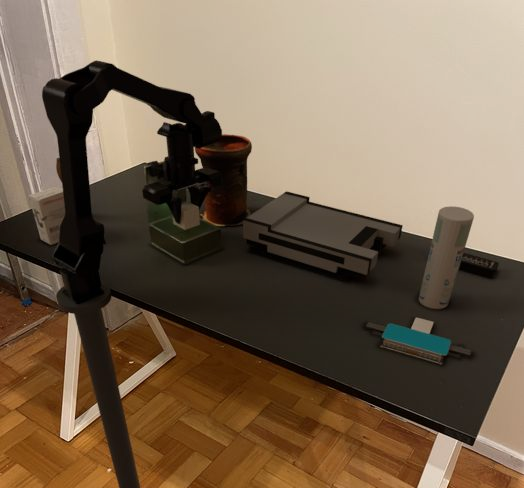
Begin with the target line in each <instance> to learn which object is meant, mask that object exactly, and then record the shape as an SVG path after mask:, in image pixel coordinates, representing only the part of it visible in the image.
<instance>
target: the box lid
mask: <svg viewBox="0 0 524 488" xmlns="http://www.w3.org/2000/svg"><path fill="white" fill-rule="evenodd" d="M158 163H159V164H162V163H164V160H163V161H159V162H158ZM143 172H144V173H143V175H144V186H145V185H148V184H152V183H155V182H159V183H161V184H163V185H168V184H171V182H170V181H168V182H167V181H165V180H164V178H160V179H158V176H155V177H151V166H150V165H148V164H147V165H145V166H143ZM187 195H188V194H187V188H186V189H183V190H180V191H177V197H178V198H180V199H182V203H183V202H186V201H188V199H187V197H188V196H187ZM145 201H146V216H147V223H148V224H151V223H153V222H156V221H159V220H162V219H165V218H168V217H170V216H173V215H172V213H171V211H170V209H169V207H168V205H167V204H166V203H164V204H161V205H156V204H154V203H152V202H150V201H148V200H147V199H145Z"/></svg>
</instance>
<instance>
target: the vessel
mask: <svg viewBox="0 0 524 488" xmlns="http://www.w3.org/2000/svg"><path fill="white" fill-rule="evenodd" d="M252 149H253V145H252V141H251V140H250V139H249V138H248V137H246V136H243V135H238V134H237V135H236V134H226V133H224V134H223V133H222V137H221V139H220V141H219V142H217V143H214V144H211V145H208V146H205V147H202V148H195V147H194V153H195V154H196V156H197V157H198V159H199V160H200V164H201V168H204V167H209V168H211V169H214V170H216V171H219V172H220V174H221V175H222V184H221V185H218V186H215V187H212V186H211V185H210V184H209V181H208V182H207V187H209V188H211V191H210V192H208V194H207V196H206V198H205V199H204V201H205V210H204V211H203V213H199V216H200V217H202V219H203V220H205V221H207V222H209V223H211V224H213V225H215V226H217V227H225V226H228V227H229V226H230V227H234V226H240V225H243V220H244V219H246V218H247V217H249V216H250V215H252V213H251V212H250V209H249V208H247V207H248V206H247V205H248V203H247V202H248V200H247V199H248V159H249V156H250V154H251V153H252Z"/></svg>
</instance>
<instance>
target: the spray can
mask: <svg viewBox="0 0 524 488" xmlns="http://www.w3.org/2000/svg"><path fill="white" fill-rule="evenodd" d="M474 219H475V214H474V213H473V211H471V210H469V209H468V208H465V207H462V206H461V207H460V206H444V207H441V208H440V209H438V213H437V217H436V222H435V227H434V230H433V235H432V238H431V239H432V240H431V244H430V248H429V251H428V257H427V260H426V265H425V269H424V274H423V278H422V282H421V286H420V291H419V295H418V302H419V303H420V304H421V305H422V306H424V307H425V308H429V309H432V310H441V309H445V308H446V307H448V305H449V303H450V300H451V297H452V294H453V293H452V292H453V290H454V286H455V283H456V281H457V280H456V279H457V275H458V272H459V271H460V270H459V266H460V263H461V259H462V256H463V253H465V250H466V249H465V248H466V245H467V242H468V239H469V236H470V235H469V234H470V232H471V230H472V229H471V228H472V226H473V221H474Z"/></svg>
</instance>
